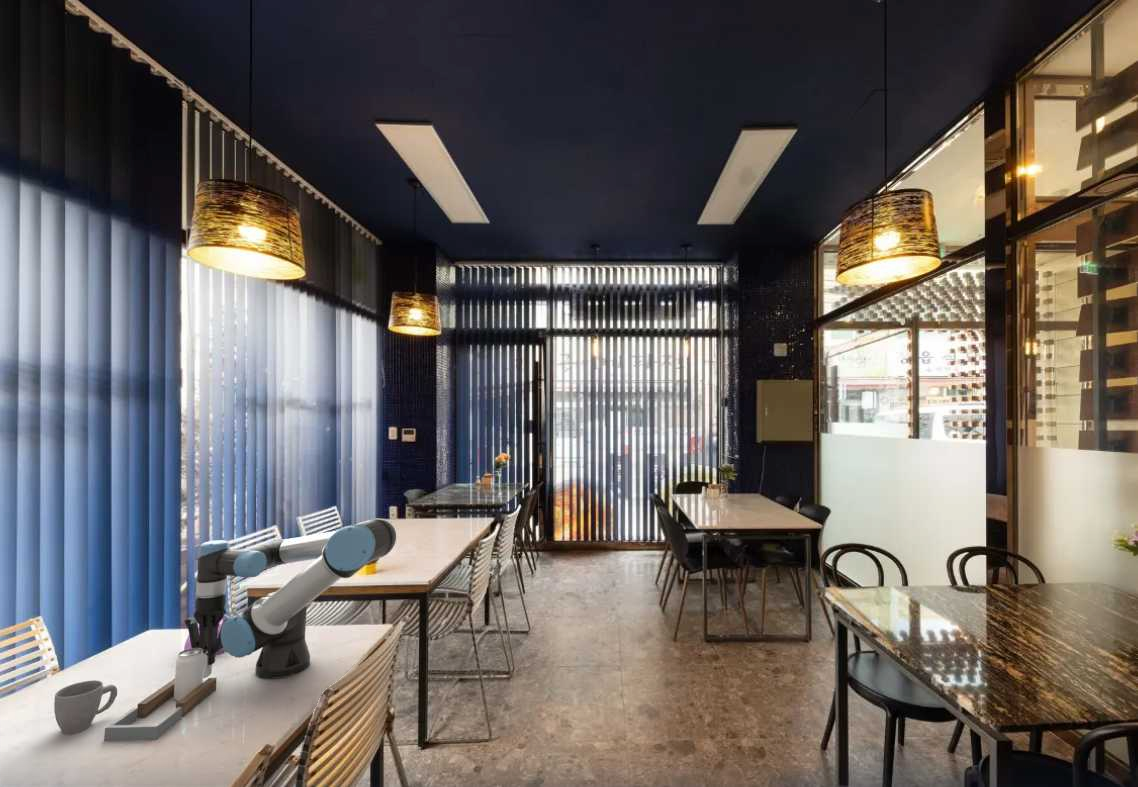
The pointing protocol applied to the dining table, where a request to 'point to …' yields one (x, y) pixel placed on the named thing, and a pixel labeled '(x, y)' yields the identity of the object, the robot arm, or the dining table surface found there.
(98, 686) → the mug
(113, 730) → the bay
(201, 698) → the chute
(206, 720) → the dining table surface
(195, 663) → the can
